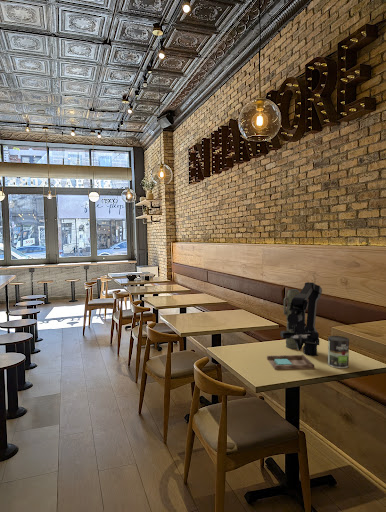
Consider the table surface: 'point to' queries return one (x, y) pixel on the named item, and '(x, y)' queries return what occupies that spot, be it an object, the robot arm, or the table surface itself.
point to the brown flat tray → (296, 361)
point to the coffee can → (338, 351)
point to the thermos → (291, 293)
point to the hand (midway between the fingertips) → (299, 350)
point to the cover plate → (282, 362)
